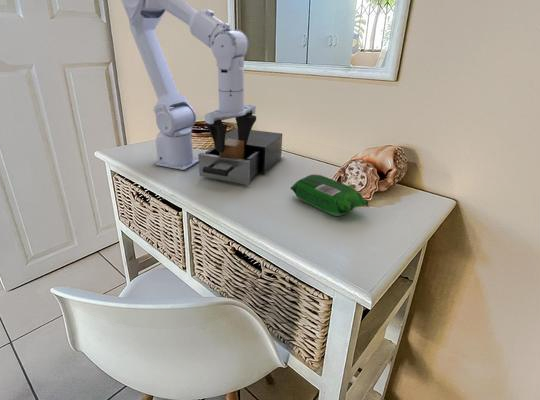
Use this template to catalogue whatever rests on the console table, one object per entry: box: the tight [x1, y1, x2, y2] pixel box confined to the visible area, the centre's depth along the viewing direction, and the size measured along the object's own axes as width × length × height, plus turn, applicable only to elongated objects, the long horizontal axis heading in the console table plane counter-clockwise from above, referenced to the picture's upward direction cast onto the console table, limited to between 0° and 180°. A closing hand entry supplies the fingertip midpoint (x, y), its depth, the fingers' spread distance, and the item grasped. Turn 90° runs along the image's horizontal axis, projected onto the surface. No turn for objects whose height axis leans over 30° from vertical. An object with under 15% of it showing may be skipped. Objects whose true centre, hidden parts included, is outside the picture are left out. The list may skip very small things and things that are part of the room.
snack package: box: [290, 173, 370, 217], centre depth 69 cm, size 7×16×5 cm, turn 35°
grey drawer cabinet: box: [213, 127, 283, 176], centre depth 92 cm, size 13×14×7 cm
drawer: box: [197, 146, 263, 186], centre depth 82 cm, size 17×13×6 cm
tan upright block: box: [219, 139, 244, 160], centre depth 82 cm, size 4×5×7 cm
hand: (231, 147), depth 81 cm, fingers open, 7 cm apart
